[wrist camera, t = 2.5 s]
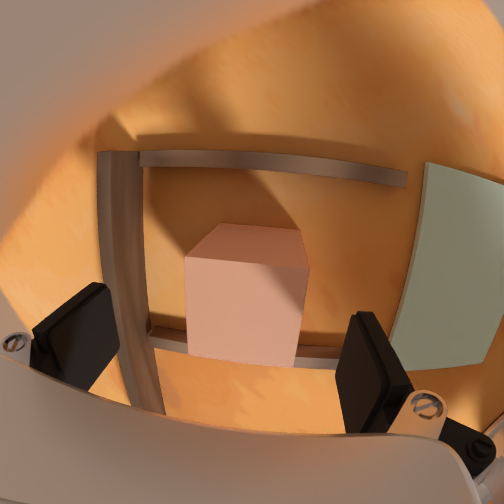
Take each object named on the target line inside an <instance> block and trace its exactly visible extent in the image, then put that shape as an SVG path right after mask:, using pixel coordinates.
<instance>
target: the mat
mask: <svg viewBox="0 0 504 504" xmlns="http://www.w3.org/2000/svg"><path fill="white" fill-rule="evenodd" d="M503 315H504V185H502V184H499V183H496V182H493V181H491V180H488V179H485V178H482V177H479V176H476V175H473V174H470V173H466V172H463V171H460V170H456V169H453V168H449V167H446V166H442V165H439V164H435V163H431V162H425V168H424V179H423V188H422V196H421V204H420V211H419V217H418V224H417V229H416V235H415V240H414V245H413V250H412V255H411V260H410V264H409V269H408V273H407V277H406V281H405V285H404V289H403V293H402V296H401V300H400V303H399V307H398V310H397V314H396V317H395V320H394V323H393V327H392V330H391V333H390V336H389V339H388V340H389V342H390V344H391V346H392V347H393V349H394V350H395V352H396V354H397V356H398V358H399V360H400V362H401V364H402V366H403V368H404V370H405V371H415V370H429V369H440V368H450V367H458V366H466V365H473V364H480V363H482V362H483V360H484V358H485V356H486V354H487V352H488V350H489V348H490V346H491V343H492V341H493V339H494V337H495V334H496V332H497V330H498V327H499V325H500V322H501V320H502V317H503Z"/></svg>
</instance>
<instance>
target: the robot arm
mask: <svg viewBox="0 0 504 504" xmlns="http://www.w3.org/2000/svg"><path fill="white" fill-rule="evenodd" d="M32 332H33V335H34V339H33V340H32V339H31V337H30V336H29V334H27V333H24V332H16V333H13V334H10V335H8V336H6V337H5V338H4V339H3V340H2V341H1V343H0V504H504V414H503V415H501V416H500V417H499V418H498V419H497V420H496V421H495V422H494V423H493V424H492V425H491V426H490V427H489V428H488V429H487V430H486V431H485V432H484V433H480V432H478V431H476V430H474V429H471V428H469V427H467V426H465V425H463V424H461V423H458V422H456V421H454V420H452V419H450V418H448V417H446V416H447V412H448V408H447V404H446V402H445V401H444V399H443V398H442V397H441V396H440V395H438V394H436V393H435V392H432V391H429V390H418V391H415V390H414V388H413V386H412V384H411V382H410V380H409V378H408V376H407V374H406V372H405V370H404V368H403V366H402V364H401V362H400V360H399V358H398V356H397V354H396V352H395V350H394V349H393V347H392V346H391V344H390V342H389V340H388V338H387V337H386V335H385V333H384V331H383V329H382V327H381V326H380V324H379V322H378V320H377V318H376V317H375V315H374V313H373V312H365V311H358V312H357V313H356V315H352V316H351V319H350V322H349V326H348V330H347V334H346V338H345V341H344V345H343V348H342V352H341V355H340V359H339V362H338V365H337V368H336V373H335V380H336V384H337V389H338V394H339V399H340V404H341V409H342V414H343V420H344V425H345V431H346V434H304V433H282V432H267V431H256V430H246V429H238V428H230V427H223V426H217V425H211V424H205V423H199V422H194V421H189V420H184V419H179V418H175V417H170V416H166V415H162V414H158V413H154V412H150V411H146V410H142V409H139V408H135V407H132V406H129V405H125V404H122V403H119V402H116V401H113V400H110V399H107V398H104V397H101V396H98V395H95V394H92V393H90V392H88V390H89V389H90V388H91V386H92V385H93V384H94V382H95V381H96V380H97V378H98V377H99V376H100V374H101V373H102V372H103V370H104V369H105V368H106V366H107V365H108V364H109V362H110V361H111V360H112V358H113V357H114V356H115V354H116V353H117V352H118V350H119V348H120V340H119V335H118V330H117V325H116V320H115V315H114V309H113V303H112V297H111V291H110V289H109V288H108V287H107V285H106V284H103V283H97V282H92V283H91V284H89V285H88V286H86V287H85V288H84V289H82V290H81V291H80V292H78V293H77V294H76V295H75V296H73V297H72V298H71V299H69V300H68V301H67V302H65V303H64V304H63V305H62V306H60V307H59V308H58V309H56V310H55V311H54V312H53V313H51V314H50V315H49V316H48V317H46V318H45V319H44V320H43V321H41V322H40V323H39V324H38V325H37V326H35V327H34V328H33V329H32Z"/></svg>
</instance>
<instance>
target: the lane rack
mask: <svg viewBox="0 0 504 504" xmlns="http://www.w3.org/2000/svg"><path fill="white" fill-rule="evenodd" d="M143 167H214V168H236V169H253V170H267V171H280V172H291V173H301V174H310V175H319V176H328V177H336V178H343V179H350V180H357V181H364V182H370V183H377V184H383V185H389V186H394V187H400V188H405V189H406V181H407V172H405V171H400V170H395V169H390V168H385V167H379V166H373V165H367V164H361V163H355V162H348V161H341V160H334V159H326V158H318V157H310V156H300V155H290V154H278V153H265V152H249V151H226V150H153V151H140V152H136V151H100V152H97V212H98V231H99V244H100V255H101V264H102V273H103V281H104V284H106V285H107V287H108V288H109V289H110V291H111V297H112V303H113V309H114V315H115V320H116V325H117V330H118V335H119V340H120V348H119V350H118V352H117V356H118V360H119V364H120V368H121V372H122V375H123V379H124V382H125V386H126V389H127V393H128V396H129V399H130V403H131V406H132V407H135V408H139V409H142V410H146V411H150V412H154V413H158V414H162V415H166V413H165V408H164V403H163V398H162V393H161V388H160V383H159V377H158V372H157V366H156V360H155V353H154V347H155V348H159V349H164V350H169V351H174V352H179V353H184V354H188V342H187V331H181V330H176V329H170V328H165V327H159V326H156V327H155V328H154V329H153V331H152V332H151V324H150V316H149V307H148V297H147V286H146V273H145V257H144V235H143ZM342 348H343V347H325V346H308V345H297V349H296V355H295V360H294V365H293V367H294V368H310V369H333V370H336V368H337V365H338V362H339V359H340V355H341V352H342Z"/></svg>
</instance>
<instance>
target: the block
mask: <svg viewBox="0 0 504 504" xmlns="http://www.w3.org/2000/svg"><path fill="white" fill-rule="evenodd" d="M184 268H185V303H186V324H187V342H188V355H192V356H198V357H204V358H211V359H217V360H224V361H231V362H239V363H247V364H255V365H265V366H275V367H287V368H293V365H294V360H295V355H296V349H297V344H298V338H299V333H300V327H301V321H302V315H303V309H304V303H305V296H306V290H307V283H308V276H309V269H310V268H309V264H308V260H307V256H306V252H305V248H304V244H303V240H302V236H301V232H300V230H298V229H287V228H277V227H265V226H254V225H242V224H230V223H220V224H219V225H218V226H216V227H215V228H214V229H213V230H212V231H211V232H210V233H209V234H208V235H207V236H206V237H204V238H203V239H202V240H201V241H200V242H199V243H198V244H197V245H196V246H195V247H194V248H193V249H192V250H191V251H189V252H188V253H187V254H186V255H185V256H184Z"/></svg>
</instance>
